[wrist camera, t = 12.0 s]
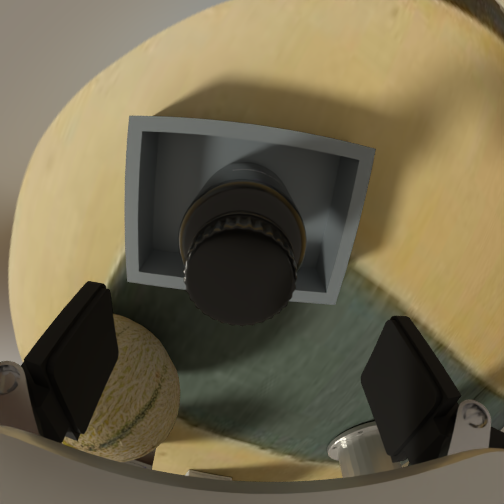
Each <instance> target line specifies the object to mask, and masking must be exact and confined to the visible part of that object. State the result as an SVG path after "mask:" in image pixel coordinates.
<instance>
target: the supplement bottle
mask: <svg viewBox="0 0 504 504" xmlns="http://www.w3.org/2000/svg"><path fill="white" fill-rule="evenodd" d="M178 246H179V253H180V257H181V260H182V262H183V265H184V269H183V273H184V275H185V276H184V283H185V285H186V291H187V293H188V294H189V295H190V300H191V301H193V302H194V303H195V305H196V307H197V308H198V309H200V310H201V311H202V312H203V313H204V314H205V315H208V316H210V317H211V318H212V319H214V320H218V321H220V322H221V323H228V324H230V325H240V326H244V325H254V324H256V323H261V322H264V321H265V320H266V319H270V318H272V317H273V316H274V315H275V314H278V313H280V311H281V310H282V308H284V307H286V306H287V304H288V301H289V300H290V299H291V298H292V295H293V292H294V291H295V289H296V284H295V283H296V281H297V278H298V277H297V273H298V271H299V269H300V268H301V265H302V263H303V260H304V257H305V253H306V246H307V236H306V230H305V226H304V223H303V220H302V217H301V215H300V213H299V211H298V209H297V207H296V205H295V203H294V201H293V199H292V198H291V196H290V194H289V192H288V190H287V188H286V187H285V185H284V183H283V182H282V181H281V179H280V178H279V177H278V176H277V175H276V174H275V173H274V172H273V171H271V170H270V169H268V168H266V167H264V166H262V165H259V164H256V163H251V162H238V163H233V164H230V165H227V166H225V167H223V168H221V169H220V170H218V171H217V172H216V173H214V174H213V175H212V176H211V177H210V179H209V180H208V181H207V182H206V184H205V185H204V186H203V188H202V189H201V190H200V192H199V193H198V194H197V196H196V197H195V199H194V200H193V201H192V203H191V204H190V206H189V207H188V209H187V211H186V213H185V215H184V217H183V219H182V222H181V225H180V229H179V235H178Z"/></svg>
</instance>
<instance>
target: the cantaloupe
mask: <svg viewBox="0 0 504 504" xmlns="http://www.w3.org/2000/svg"><path fill="white" fill-rule="evenodd" d="M113 318H114V325H115V331H116V338H117V344H118V350H119V355H118V360H117V362H116V364H115V366H114V369H113V371H112V373H111V375H110V377H109V379H108V382H107V384H106V386H105V388H104V391H103V393H102V395H101V397H100V400H99V402H98V404H97V407H96V409H95V411H94V414H93V416H92V418H91V421H90V423H89V426H88V428H87V431H86V432H85V434H80V436H79V439H78V441H76V440H73V439H70V438H68V437H65V438H64V440H63V444H64V445H67V446H69V447H72V448H75V449H78V450H81V451H84V452H87V453H90V454H93V455H97V456H100V457H103V458H107V459H110V460H114V461H118V462H127V461H131V460H134V459H137V458H140V457H142V456H145V455H146V454H148V453H150V452H151V451H153V450H154V449H155V448H157V446H159V445H160V444H161V443H162V442H163V441H164V440H165V438H166V437H167V436H168V434H169V433H170V431H171V430H172V428H173V426H174V423H175V420H176V418H177V416H178V410H179V405H180V385H179V377H178V374H177V370H176V368H175V366H174V364H173V362H172V360H171V359H170V357H169V355H168V353H167V351H166V350H165V348H164V347H163V345H162V344H161V342H160V341H159V339H158V338H156V337H155V336H154V335H153V334H152V333H151V332H150V331H149V330H147V329H146V328H145V327H143V326H142V325H140V324H138V323H136V322H134V321H132V320H130V319H129V318H126V317H124V316H119V315H116V314H113Z"/></svg>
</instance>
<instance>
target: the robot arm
mask: <svg viewBox="0 0 504 504" xmlns="http://www.w3.org/2000/svg"><path fill="white" fill-rule="evenodd" d="M118 355H119V350H118V344H117V338H116V331H115V325H114V318H113V310H112V302H111V293H110V290H109V289H106V286H105V285H104V284H102V283H97V282H91V281H88V282H87V283H86V284H85V285H84V286H83V287H82V288H81V289H80V290H79V291H78V293H77V294H76V295H75V296H74V297H73V298H72V300H71V301H70V302H69V303H68V304H67V305H66V307H65V308H64V309H63V310H62V311H61V313H60V314H59V315H58V316H57V317H56V319H55V320H54V321H53V322H52V324H51V325H50V326H49V327H48V329H47V330H46V331H45V332H44V334H43V335H42V336H41V337H40V339H39V340H38V341H37V343H36V344H35V345H34V347H33V348H32V349H31V351H30V352H29V353H28V355H27V356H26V357H25V359H24V362H23V364H22V365H21V366H20V365H19V364H17V363H15V362H11V361H2V362H0V504H504V433H503V432H501V431H499V430H497V429H495V428H493V427H491V417H490V414H489V412H488V410H487V409H486V408H485V407H484V406H483V405H482V404H481V403H479V402H477V401H474V400H465V401H463V402H462V403H460V405H458V403H457V401H458V399H459V398H460V397H461V394H460V393H459V391H458V389H457V388H456V386H455V385H454V383H453V381H452V380H451V378H450V377H449V375H448V373H447V372H446V370H445V369H444V367H443V366H442V364H441V363H440V361H439V360H438V358H437V357H436V355H435V354H434V352H433V351H432V349H431V348H430V346H429V345H428V343H427V342H426V341H425V339H424V338H423V336H422V335H421V333H420V332H419V331H418V329H417V328H416V326H415V325H414V324H413V322H412V321H411V319H410V318H409V317H407V316H392V317H391V319H390V320H388V321H387V322H386V323H385V326H384V328H383V330H382V332H381V335H380V337H379V339H378V341H377V344H376V346H375V348H374V350H373V352H372V354H371V356H370V359H369V361H368V363H367V365H366V367H365V369H364V371H363V373H362V375H361V384H362V387H363V389H364V392H365V395H366V397H367V400H368V403H369V405H370V408H371V411H372V414H373V416H374V419H375V421H373V422H369V423H365V424H362V425H359V426H356V427H354V428H352V429H349V430H347V431H345V432H344V433H342V434H340V435H339V436H337V437H336V438H335V439H333V440H332V441H331V443H330V444H329V445H328V448H327V451H328V455H329V457H330V458H332V459H335V460H339V463H340V467H341V472H342V476H343V478H337V479H327V480H315V481H297V482H248V481H230V480H218V479H208V478H199V477H192V476H184V475H178V474H172V473H166V472H161V471H156V470H151V469H146V468H142V467H137V466H133V465H129V464H125V463H121V462H118V461H114V460H110V459H107V458H103V457H100V456H97V455H93V454H90V453H87V452H84V451H81V450H78V449H75V448H72V447H69V446H67V445H64V444H62V442H63V440H64V438H65V437H68V438H70V439H73V440H76V441H78V439H79V436H80V434H85V432H86V431H87V428H88V426H89V423H90V421H91V418H92V416H93V414H94V411H95V409H96V407H97V404H98V402H99V400H100V397H101V395H102V393H103V391H104V388H105V386H106V384H107V382H108V379H109V377H110V375H111V373H112V371H113V369H114V366H115V364H116V362H117V360H118ZM407 458H408V460H409V465H408V466H407V467H401V464H400V461H404V460H406V459H407Z"/></svg>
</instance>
